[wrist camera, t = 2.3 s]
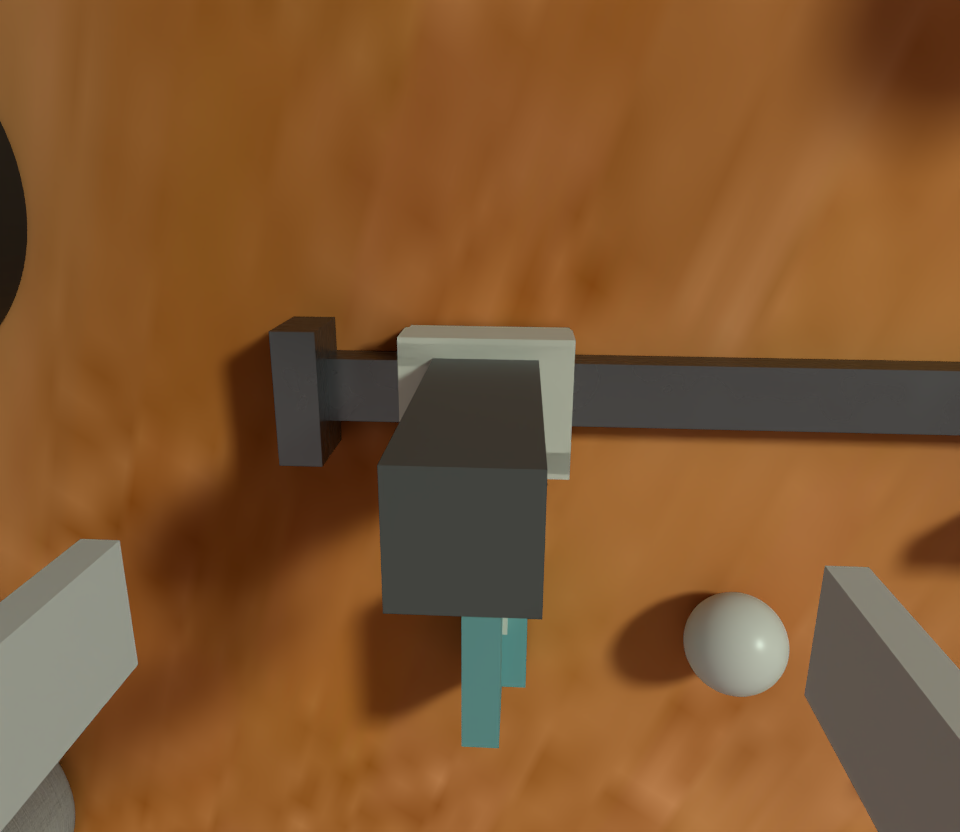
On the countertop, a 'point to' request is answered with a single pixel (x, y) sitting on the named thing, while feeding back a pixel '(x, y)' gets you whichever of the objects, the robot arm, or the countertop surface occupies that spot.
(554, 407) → the carriage
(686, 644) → the ball
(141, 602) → the countertop surface
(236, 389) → the countertop surface
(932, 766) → the robot arm
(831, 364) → the rail
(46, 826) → the planter
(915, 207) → the countertop surface
